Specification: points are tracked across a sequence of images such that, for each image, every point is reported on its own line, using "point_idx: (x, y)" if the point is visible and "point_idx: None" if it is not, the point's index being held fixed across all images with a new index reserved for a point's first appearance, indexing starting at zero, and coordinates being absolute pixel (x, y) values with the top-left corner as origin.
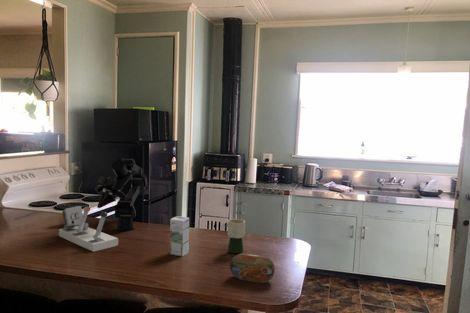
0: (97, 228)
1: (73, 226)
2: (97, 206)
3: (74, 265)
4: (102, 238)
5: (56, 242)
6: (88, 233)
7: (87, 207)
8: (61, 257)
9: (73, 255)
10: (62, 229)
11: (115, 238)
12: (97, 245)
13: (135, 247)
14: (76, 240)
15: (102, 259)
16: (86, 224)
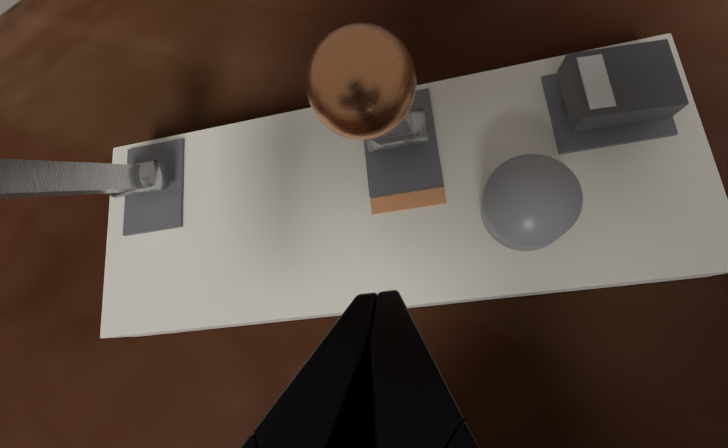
0: (85, 164)
1: (574, 113)
2: (380, 293)
3: (60, 46)
4: (175, 242)
5: (469, 33)
6: (370, 205)
7: (315, 59)
8: (186, 17)
9: (172, 68)
10: None
11: (111, 320)
12: None
13: (36, 406)
14: None
15: None
16: (498, 213)
